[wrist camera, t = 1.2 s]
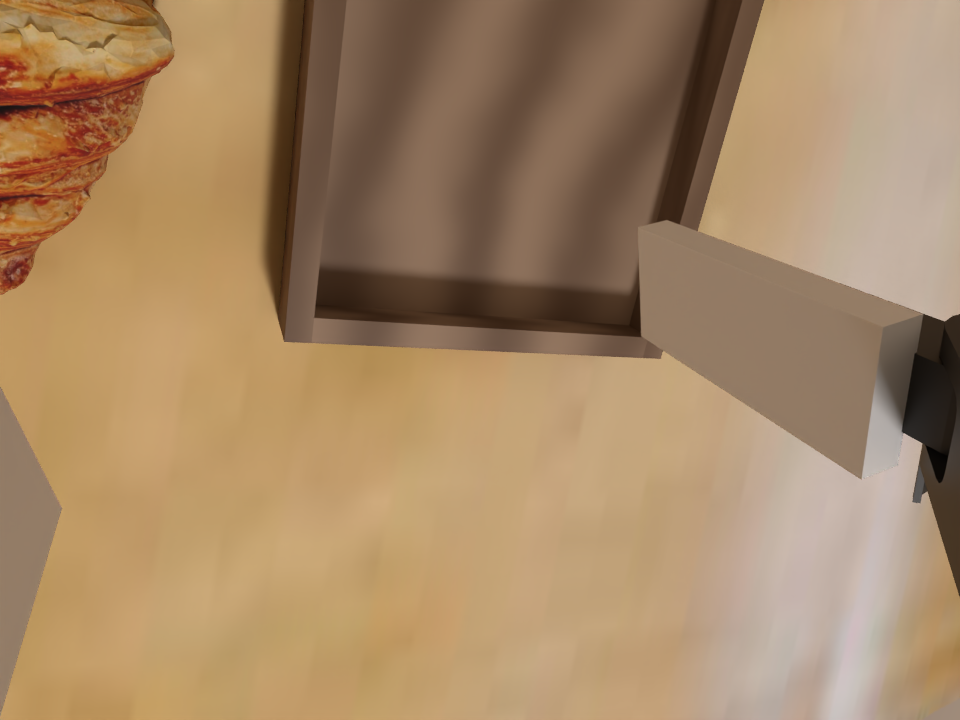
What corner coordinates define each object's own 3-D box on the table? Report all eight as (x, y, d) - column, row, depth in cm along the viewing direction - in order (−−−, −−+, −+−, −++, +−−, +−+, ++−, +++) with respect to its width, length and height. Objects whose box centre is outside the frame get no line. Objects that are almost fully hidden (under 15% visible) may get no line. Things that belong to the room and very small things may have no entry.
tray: (278, 319, 34) (284, 341, 31) (346, -497, 24) (363, -563, 21) (632, 339, 42) (660, 358, 39) (797, -268, 31) (849, -297, 29)
